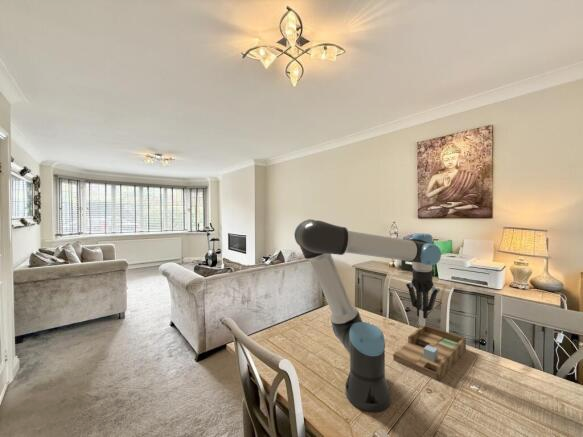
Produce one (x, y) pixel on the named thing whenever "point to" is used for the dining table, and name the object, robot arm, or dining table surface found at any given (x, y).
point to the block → (430, 353)
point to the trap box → (443, 341)
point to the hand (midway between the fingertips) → (422, 324)
